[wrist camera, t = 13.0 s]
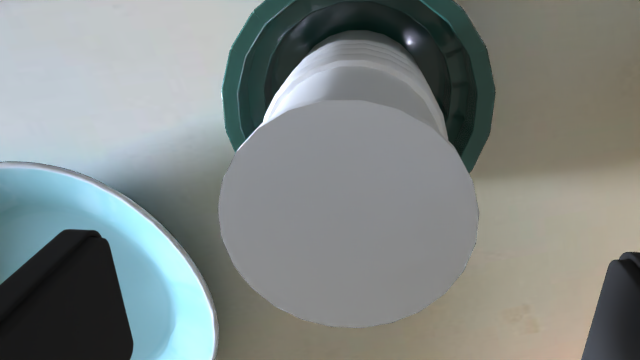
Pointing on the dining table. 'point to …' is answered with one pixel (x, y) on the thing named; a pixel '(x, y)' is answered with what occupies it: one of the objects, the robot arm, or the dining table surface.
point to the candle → (350, 190)
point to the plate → (113, 255)
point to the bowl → (377, 16)
